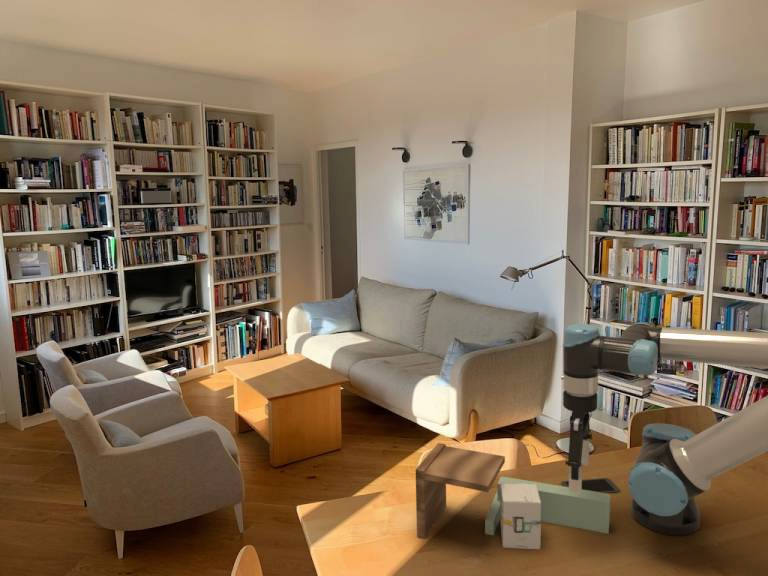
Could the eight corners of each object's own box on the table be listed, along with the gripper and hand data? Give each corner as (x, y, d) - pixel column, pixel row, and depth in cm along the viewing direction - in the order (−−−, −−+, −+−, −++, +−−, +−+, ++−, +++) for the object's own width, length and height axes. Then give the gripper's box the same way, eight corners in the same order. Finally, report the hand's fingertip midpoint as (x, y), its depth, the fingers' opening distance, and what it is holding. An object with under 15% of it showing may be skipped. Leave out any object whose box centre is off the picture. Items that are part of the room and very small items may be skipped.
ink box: (499, 526, 140) (499, 481, 138) (535, 527, 139) (536, 482, 137) (502, 548, 132) (502, 500, 130) (541, 550, 131) (542, 502, 129)
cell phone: (621, 493, 153) (621, 491, 153) (570, 497, 152) (570, 495, 152) (608, 480, 161) (608, 477, 161) (559, 483, 160) (559, 481, 159)
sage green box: (609, 524, 140) (610, 494, 138) (607, 558, 127) (609, 525, 126) (496, 504, 150) (496, 475, 148) (485, 533, 137) (485, 502, 136)
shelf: (504, 519, 143) (504, 454, 140) (487, 554, 130) (488, 483, 127) (438, 504, 150) (438, 442, 147) (416, 536, 137) (415, 469, 134)
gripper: (570, 373, 147) (570, 452, 150) (554, 408, 125) (553, 500, 128) (602, 376, 144) (601, 457, 147) (591, 413, 121) (589, 506, 125)
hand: (579, 477), depth 138 cm, fingers open, 13 cm apart
